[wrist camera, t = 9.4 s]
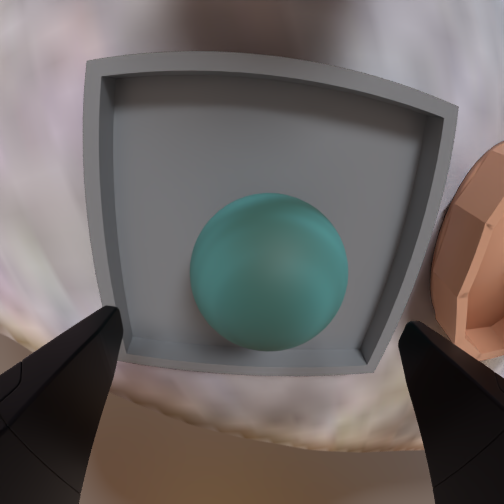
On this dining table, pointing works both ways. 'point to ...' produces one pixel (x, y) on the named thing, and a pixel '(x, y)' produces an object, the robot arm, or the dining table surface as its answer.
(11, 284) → the dining table surface
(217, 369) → the tray
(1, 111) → the dining table surface
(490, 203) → the bowl
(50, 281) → the dining table surface
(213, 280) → the ball
